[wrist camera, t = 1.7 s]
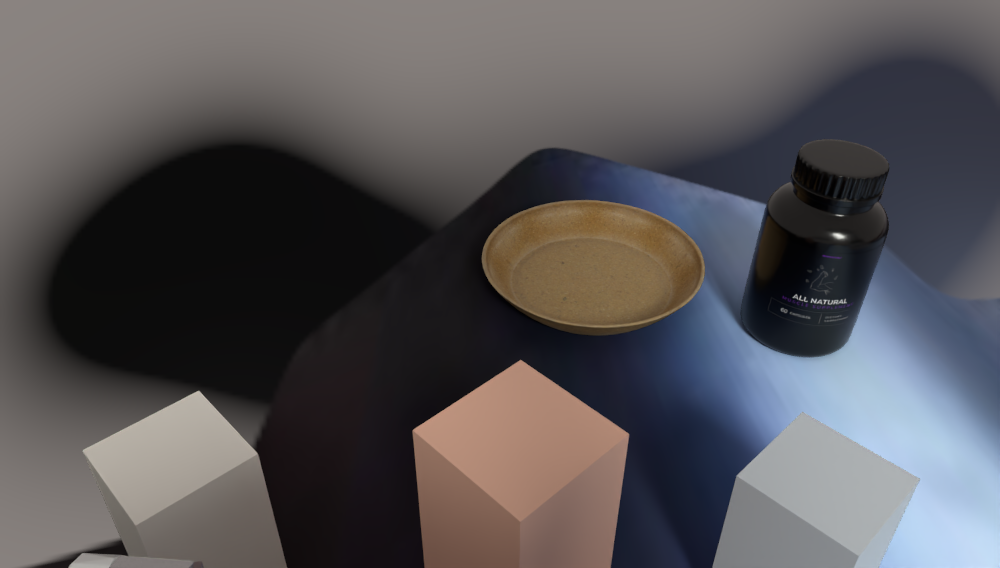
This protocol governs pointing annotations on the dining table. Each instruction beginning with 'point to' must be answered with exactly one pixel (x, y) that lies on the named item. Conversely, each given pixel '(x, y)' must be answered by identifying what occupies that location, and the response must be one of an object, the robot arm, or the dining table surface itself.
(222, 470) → the off-white block
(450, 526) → the coral block
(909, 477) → the grey-blue block
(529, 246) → the plant saucer
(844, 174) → the supplement bottle
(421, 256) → the dining table surface
